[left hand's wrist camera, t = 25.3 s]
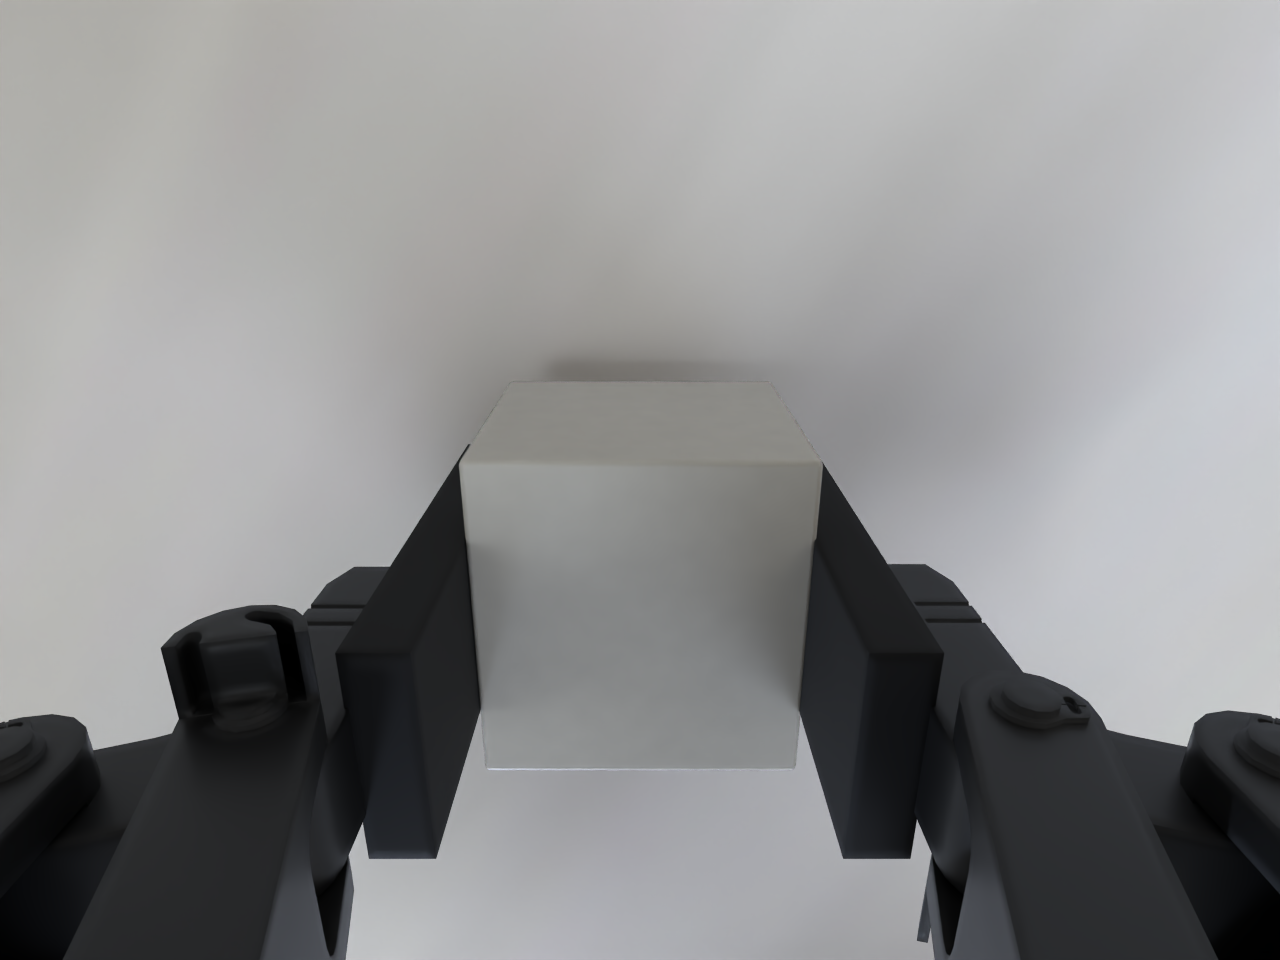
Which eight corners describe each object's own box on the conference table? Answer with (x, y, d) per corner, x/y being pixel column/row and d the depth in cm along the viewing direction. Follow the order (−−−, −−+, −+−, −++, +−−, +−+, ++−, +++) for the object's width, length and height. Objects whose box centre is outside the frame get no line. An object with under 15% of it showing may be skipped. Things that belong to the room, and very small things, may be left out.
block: (772, 380, 14) (824, 460, 10) (756, 622, 15) (796, 772, 12) (509, 379, 14) (456, 460, 10) (523, 622, 15) (484, 772, 12)
